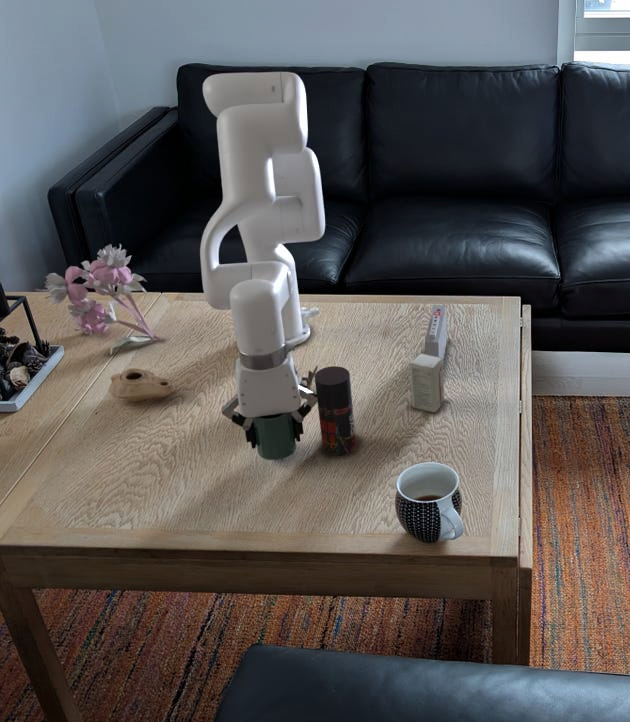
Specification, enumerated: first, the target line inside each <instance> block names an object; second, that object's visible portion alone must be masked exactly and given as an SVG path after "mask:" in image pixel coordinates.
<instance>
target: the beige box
mask: <svg viewBox="0 0 630 722" xmlns="http://www.w3.org/2000/svg"><path fill="white" fill-rule="evenodd" d="M409 372H410V373H409V374H410V386H411V402H412V403H411V404H412V408H415V409H419V410H423V411H427V412H431V413H436V412H437V411H438V410H439V409H440V408H441V407H442V406H443V404H444V403H445V383H444V382H445V381H444V358H441V357H437V356H433V355H428V354H425V353H424V352H420V353H419V354H418V355H416V356H415V357H414V358H413V359H412V360H411V361H410V362H409Z"/></svg>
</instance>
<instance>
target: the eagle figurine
mask: <svg viewBox="0 0 630 722" xmlns="http://www.w3.org/2000/svg"><path fill="white" fill-rule="evenodd" d="M318 368H319V365H315V367H314V369H313V370H312V371H311V370H310V369H309V370H308V373H307V377H304V376H303V375H302V374H299V373H298V370H296V373H297V378H298V384H299V385H300V386H302V387H304V388H306V389H308V390H310V391H311V386H312V383H313V380H314V379H315V374H316V373H317V372H318ZM298 374H299V375H298ZM304 381H305V382H306V385H305V384H304V383H302V382H304Z"/></svg>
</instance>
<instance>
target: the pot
mask: <svg viewBox="0 0 630 722" xmlns="http://www.w3.org/2000/svg"><path fill="white" fill-rule="evenodd" d="M252 418H253V422H252V424H253V430H254V436H255V441H256V447H255V449H256V452H257V454H258V456H259V457H260V458H262V459H265V460H268V461H279V460H283V459H286V458H289V457H290V456H292V455H293V454H294V453H295V452H296V450H297V448H298V447H297V446H298V445H297V442H298V441H296V434H295V427H294V419H293V416H292V415H291V412H287V413H280V414H274V415H267V416H259V417H252Z"/></svg>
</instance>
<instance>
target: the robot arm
mask: <svg viewBox="0 0 630 722" xmlns="http://www.w3.org/2000/svg"><path fill="white" fill-rule="evenodd" d="M202 95H203V98H204V99H203V100H204V101H205V104H206V106H207V108H208V109H209V111H210V112H211V114H212V115H213V116H214V117H215V118H217V119H216V134H217V147H218V158H219V168H220V178H221V188H222V201H221V204H220V205H219V207H218V208H217V210H216V211H215V212H214V213H213V215H212V216H211V217H210V219H209V221H208V222H207V224H206V226H205V228H204V230H203V233H202V236H201V241H200V248H199V257H200V269H201V271H200V272H201V281H202V282H201V283H202V290H203V294H204V298H205V300H206V303H207V304H208V305H209V306H210V307H211V308H212V309H215V310H218V311H219V310H220V311H230V310H231V315H232V316H231V317H232V322H233V329H234V334H235V340H236V346H237V351H238V358H237V359H236V361H235V385H236V394H235V395H234V396H233V397H232V398H230V400H228V402H226V403H225V404H224V405H223V406H222V407H221V414H222V415H223V416H224V417H226V418H227V419H229V420H231V422H232V423H234V424H236V426H239V427H241V428H242V430H243V431H244V432H245V440H246V443H250V446H251V449H252V450H254V449H256V441H255V436H254V430H253V424H252V422H253V418H252V417H259V416H267V415H274V414H280V413H287V412H291V415H292V416H293V419H294V427H295V434H296V441H297V442H298V443H300V442H301V441H302V440H301V435H304V433H305V432H304V426H303V425H304V424H303V422H304V419H305V418H306V417H307V416H308V414H310V412H311V411H312V409H313V408H314V407H315V406H316V404H318V398H317V393H316V392H313V391H311V389H310V390H308V389H306V388H304V387H302V386H300V385H299V384H298V378H297V375H298V374H297V373H298V372H297V373H296V371H297V369H296V365H295V362H294V358H293V355H292V354H291V352H296V347H295V346H297V345H300V344H302V343H304V342H305V341H306V340H307V339H308V338H309V337H310V335H311V328H310V325H309V324H308V323H307V322H309V319H311V318H314V317H316V316H318V315H320V311H319V308H318V307H316V306H313V307H311V308H309V309H307V307H306V306H302V307H301V304H300V303H301V302H300V295H299V288H298V279H297V271H296V262H295V260H294V257H293V255H292V253H291V252H290V251H289V250H288V249H287V247H285V246H284V245H285V244H292V243H307V242H315V241H318V240H320V239H321V238H322V237H323V236H324V234H325V230H326V218H325V217H326V215H325V208H324V207H325V205H324V196H323V189H322V187H323V186H322V177H321V170H320V165H319V161H318V158H317V156H316V154H315V152H314V151H313V149H311V148H309V147H307V143H308V136H309V133H308V132H309V129H308V128H309V127H308V111H307V109H308V108H307V107H308V106H307V93H306V87H305V84H304V82H303V80H302V79H301V77H300V76H299V75H298V74H297V73H295V72H290V71H268V72H267V71H266V72H265V71H264V72H226V73H225V72H224V73H216V74H212V75H210V76H208V77H206V79H204V82H203V83H202ZM236 225H237V228H238V231H239V234H240V237H241V240H242V243H243V247H244V252H245V256H246V261H247V262H235V263H224V264H221V263H220V261H219V260H220V259H219V258H220V257H219V252H220V246H221V243H222V241H223V239H224V237H225V236H226V234H227V233H228V232H229V231H230V230H231V229H233V228H234V227H235V226H236ZM301 398H303V399H305V400H306V401H304V402H303V403H302V400H301ZM301 403H302V404H301ZM237 407H238V408H239V411H240V412H238V411H235V409H236V408H237Z"/></svg>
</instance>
